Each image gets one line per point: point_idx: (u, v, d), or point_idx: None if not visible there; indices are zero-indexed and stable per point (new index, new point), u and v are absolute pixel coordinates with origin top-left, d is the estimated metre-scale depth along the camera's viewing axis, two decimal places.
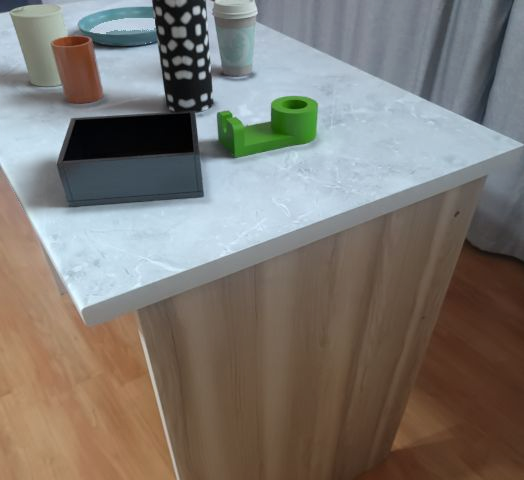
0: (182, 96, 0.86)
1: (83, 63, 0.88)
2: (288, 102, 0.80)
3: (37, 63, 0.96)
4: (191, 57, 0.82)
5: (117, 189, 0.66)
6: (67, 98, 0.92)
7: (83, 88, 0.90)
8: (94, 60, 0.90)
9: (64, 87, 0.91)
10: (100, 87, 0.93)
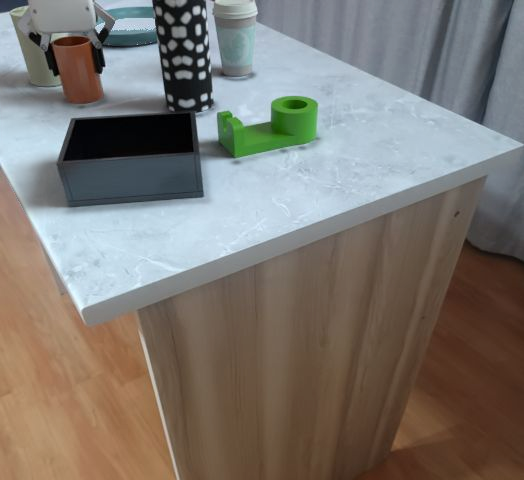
0: (182, 96, 0.86)
1: (83, 63, 0.88)
2: (288, 102, 0.80)
3: (37, 63, 0.96)
4: (191, 57, 0.82)
5: (117, 189, 0.66)
6: (67, 98, 0.92)
7: (83, 88, 0.90)
8: (94, 60, 0.90)
9: (64, 87, 0.91)
10: (100, 87, 0.93)
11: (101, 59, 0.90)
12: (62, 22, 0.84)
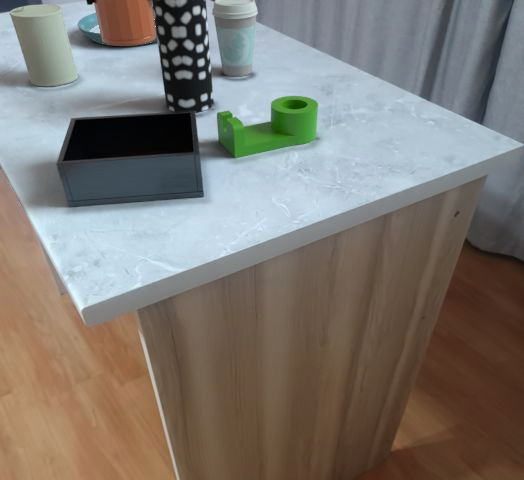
0: (182, 96, 0.86)
1: None
2: (288, 102, 0.80)
3: (37, 63, 0.96)
4: (191, 57, 0.82)
5: (117, 189, 0.66)
6: (105, 39, 0.63)
7: (130, 22, 0.61)
8: None
9: (102, 21, 0.62)
10: (153, 23, 0.64)
11: None
12: None
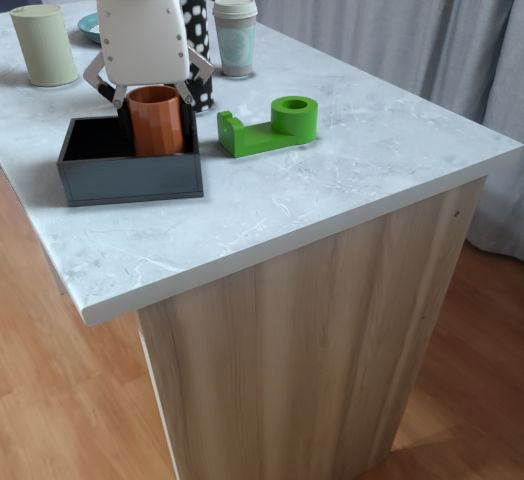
0: None
1: (169, 124, 0.66)
2: (288, 102, 0.80)
3: (37, 63, 0.96)
4: None
5: (117, 189, 0.66)
6: None
7: None
8: (181, 118, 0.68)
9: (140, 153, 0.69)
10: (185, 151, 0.71)
11: (190, 117, 0.68)
12: (145, 72, 0.62)
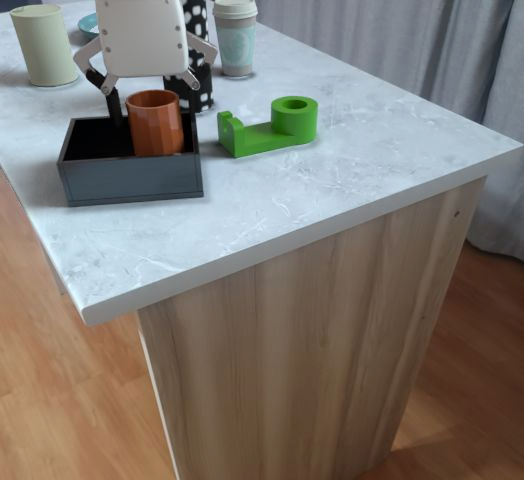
0: (182, 96, 0.86)
1: (168, 128, 0.66)
2: (288, 102, 0.80)
3: (37, 63, 0.96)
4: (191, 57, 0.82)
5: (117, 189, 0.66)
6: None
7: None
8: (180, 122, 0.68)
9: None
10: None
11: (197, 103, 0.67)
12: (143, 64, 0.62)
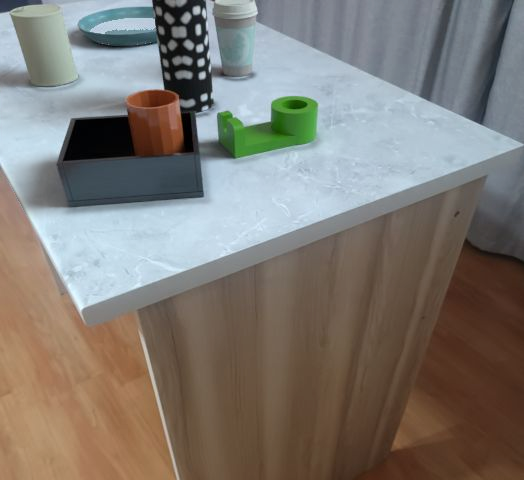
0: (182, 96, 0.86)
1: (168, 128, 0.66)
2: (288, 102, 0.80)
3: (37, 63, 0.96)
4: (191, 57, 0.82)
5: (117, 189, 0.66)
6: None
7: None
8: (180, 122, 0.68)
9: None
10: None
11: None
12: None
